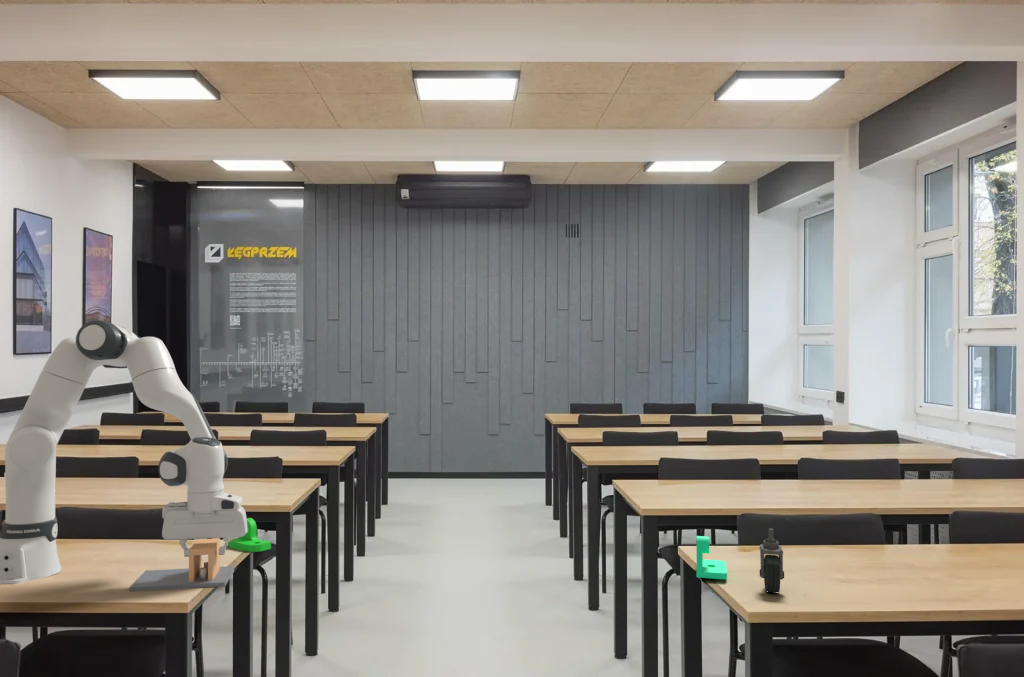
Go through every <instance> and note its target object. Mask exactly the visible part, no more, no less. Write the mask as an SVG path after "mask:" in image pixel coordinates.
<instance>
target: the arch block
mask: <svg viewBox="0 0 1024 677" xmlns="http://www.w3.org/2000/svg"><path fill="white" fill-rule="evenodd" d="M219 547H221V538H204V539H196V541H195V542H194V543H193V545H191V547H189V548H190V549H189V557H188V568H189V582H194V580H195V579H196V577H197V576H198V575H199V573H200V568H202V567H203V556H207V562H208V581H212V580H213V579H214V577H215V576H216V574H217V573H218V571H219V570H220V567H221V555H219Z"/></svg>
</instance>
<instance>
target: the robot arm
mask: <svg viewBox="0 0 1024 677" xmlns="http://www.w3.org/2000/svg"><path fill="white" fill-rule="evenodd" d="M174 363H175V362H174V361H173V358H172V356H171V354H170V352H169V350H168V348H167V346H166V345H165V344H164V342H163V340H162V339H160V338H159V337H156V336H143V337H140V336H139V335H138V333H135V332H133V331H131V330H130V329H128V328H127V327H124V326H122V325H119V324H114V323H112V322H110V321H106V320H100V319H99V320H98V319H95V320H91V321H88V322H85V323H84V324H83V325H82V326H80V328H79V329H78V330H77V333H76V336H75V337H68V338H67V337H65V338H64V339H62V340H61V341H60V342H59V343H58V344H57V346H56V347H55V348H54V349H53V351H52V353H51V354H50V355H49V357H48V359H47V361H46V362H45V364H44V366H43V368H42V370H41V371H40V374H39V376H38V378H37V380H36V382H35V384H34V387H33V389H32V390H31V392H30V394H29V396H28V398H27V401H26V402H25V405H24V407H23V408H22V411H21V413H20V415H19V417H18V419H17V421H16V424H15V426H14V427H13V430H12V432H11V434H10V436H9V438H8V439H7V442H6V444H5V449H4V455H5V456H4V462H5V463H4V465H5V466H4V467H5V468H4V469H5V471H4V472H5V476H4V477H5V519H4V520H3V521H2V523H0V585H15V584H21V583H24V582H29V581H34V580H40V579H43V578H48V577H51V576H53V575H56V574H58V573H60V572H61V571H62V569H63V568H62V565H61V562H60V558H59V554H58V553H59V552H58V546H57V538H58V517H57V516H56V492H57V490H56V484H57V483H56V475H57V473H56V472H57V468H56V467H57V465H56V464H57V446H58V444H59V441H60V439H61V437H62V435H63V433H64V431H65V429H66V427H67V425H68V423H69V421H70V419H71V417H72V416H73V414H74V412H75V410H76V407H77V405H78V403H79V401H80V399H81V397H82V395H83V392H84V390H85V389H86V387H87V385H88V381H89V379H90V377H91V375H92V373H93V372H94V371H95V370H96V369H97V368H98V367H101V366H102V367H104V368H106V369H128V371H129V375H130V378H131V382H132V386H133V389H134V392H135V394H136V395H135V396H136V397H137V398H138V401H140V402H141V403H142V404H143V405H144V406H146V407H147V408H150V409H153V410H156V411H160V412H163V413H166V414H169V415H171V416H173V417H176V418H177V419H178V420H180V421H181V422H182V424H183V425H184V427H185V430H186V431H187V434H188V435H189V438H190V440H189V442H188V443H186V444H185V445H183V446H181V447H179V448H175V449H172V450H169V451H166V452H165V453H164V454H163V455H162V456H161V458H160V460H159V462H158V476H159V479H160V480H161V481H162V483H164V484H165V485H166V486H168V487H183V486H186V487H187V490H186V492H187V493H186V501H180V502H179V501H178V502H174V501H173V502H168V503H167V504H165V505H164V506H163V507H162V510H161V517H162V520H163V524H162V530H161V537H162V538H163V539H164V540H165V541H176V540H177V541H179V545H180V547H181V548H182V550H183V557H188V558H189V549H190V548H191V547H188V545H187V542H188V540H195V539H196V540H198V539H222V540H223V542H224V544H223V546H220V547H219V555H220V556H225V555H226V553H227V551H226V550H227V547H228V543H229V541H230V540H231V538H239V537H243V536H244V535H245V534H246V532H247V518H248V517H247V514H246V513H247V512H246V510H245V508H244V507H243V506H242V505H243V497H242V496H240V495H236V494H231V493H228V492H225V485H224V482H223V480H224V476H225V473H226V471H227V469H228V465H229V460H228V456H227V453H226V452H225V450H224V448H223V444H222V442H221V441H220V440H218V439H217V438H216V436H215V434H214V432H213V430H212V427H211V425H210V423H209V421H208V419H207V417H206V415H205V413H204V411H203V409H202V408H203V407H201V405H200V403H199V401H198V400H197V398H196V396H195V395H194V394H193V393H192V392H191V391H189V390H188V389H187V388H186V387H185V385H184V384H183V382H182V380H181V379H180V377H179V374H178V373H177V370H176V367H175V364H174Z"/></svg>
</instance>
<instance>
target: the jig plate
mask: <svg viewBox="0 0 1024 677" xmlns="http://www.w3.org/2000/svg"><path fill="white" fill-rule="evenodd" d="M234 572H235V566H234V565H231V566H230V565H229V566H220V570H219V571H218V573H217V574H216V576H215V577H214V579H213V580H212V581H208V561H204V562H203V566H202V568H200V573H199V575H198V576H197V577H196V579H195V580H194V582H189V567H188V568H170V569H169V568H167V569H152V570H150V569H149V570H145V571H144V572H143V573H141V575H140V576H139V577H138V578H137V579H136V580H134V582H133V583H132V584H131V585H130V586H129V589H128V591H129V592H139V591H141V592H143V591H144V592H145V591H158V590H159V591H161V590H179V589H180V590H181V589H199V588H200V589H202V588H203V589H204V588H219V587H220V588H221V587H226V585H227V584H228V582H229V580H230V579H231V577H232V576H233V573H234Z"/></svg>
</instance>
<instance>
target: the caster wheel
mask: <svg viewBox="0 0 1024 677" xmlns="http://www.w3.org/2000/svg"><path fill="white" fill-rule="evenodd" d="M767 534H768V538H766V539H764V540H763V541H762V544H759V552H760V553H759V554H760V555H759V556H760V558H759V559H760V569H759V577H760V578H761V579H763V581H764V582H763V583H764V591H765V590H766V591H768V592H779V593H780V591H781V580H784V579H785V571H784V557H783V556H784V551H783V548H782V545H780V542H779V541H778V540H776V539H775V538H774V528H768V532H767ZM766 591H765V592H766Z"/></svg>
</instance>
